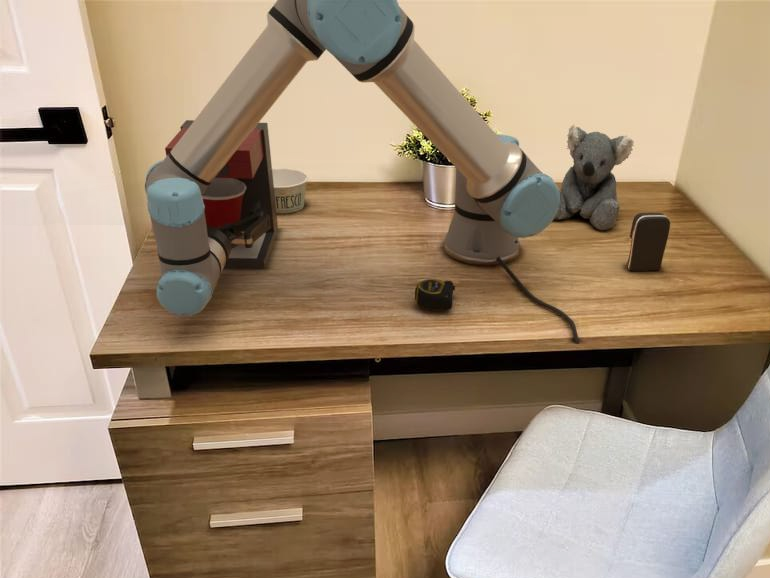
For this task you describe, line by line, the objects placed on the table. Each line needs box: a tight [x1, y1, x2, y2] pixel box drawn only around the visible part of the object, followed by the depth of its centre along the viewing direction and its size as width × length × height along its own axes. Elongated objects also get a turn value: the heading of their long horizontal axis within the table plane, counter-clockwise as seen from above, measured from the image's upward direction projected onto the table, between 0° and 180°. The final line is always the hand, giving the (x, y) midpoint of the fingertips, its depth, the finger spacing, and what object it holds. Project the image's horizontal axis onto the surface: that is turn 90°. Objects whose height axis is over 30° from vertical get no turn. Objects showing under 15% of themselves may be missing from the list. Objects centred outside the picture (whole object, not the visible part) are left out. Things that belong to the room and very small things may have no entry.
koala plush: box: [553, 124, 635, 231], centre depth 165 cm, size 17×18×20 cm
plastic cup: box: [201, 178, 247, 248], centre depth 138 cm, size 11×11×12 cm
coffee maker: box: [164, 119, 279, 269], centre depth 138 cm, size 18×15×22 cm
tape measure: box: [414, 278, 456, 312], centre depth 128 cm, size 7×7×4 cm
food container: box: [272, 167, 309, 214], centre depth 162 cm, size 12×12×6 cm
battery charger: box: [626, 211, 671, 272], centre depth 144 cm, size 7×4×11 cm, turn 100°
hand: (229, 204), depth 141 cm, fingers open, 10 cm apart
